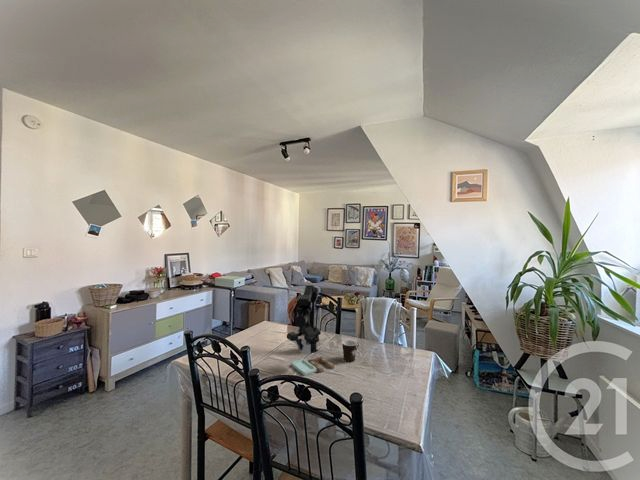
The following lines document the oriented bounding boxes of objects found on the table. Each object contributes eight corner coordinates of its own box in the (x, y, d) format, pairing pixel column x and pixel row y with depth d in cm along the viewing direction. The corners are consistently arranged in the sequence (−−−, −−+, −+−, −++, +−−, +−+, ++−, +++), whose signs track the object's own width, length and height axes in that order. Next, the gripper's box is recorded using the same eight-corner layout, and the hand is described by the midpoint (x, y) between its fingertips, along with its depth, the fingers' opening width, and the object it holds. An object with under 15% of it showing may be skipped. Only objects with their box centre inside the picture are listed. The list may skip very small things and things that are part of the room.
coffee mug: (345, 363, 159) (345, 346, 159) (340, 357, 168) (340, 340, 168) (363, 361, 163) (363, 344, 162) (357, 355, 171) (358, 339, 171)
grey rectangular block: (298, 349, 156) (298, 340, 156) (304, 348, 158) (304, 339, 157) (303, 354, 149) (303, 345, 148) (310, 353, 150) (310, 344, 150)
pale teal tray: (291, 365, 157) (291, 362, 157) (303, 362, 161) (303, 358, 161) (304, 375, 145) (304, 372, 145) (317, 371, 150) (317, 368, 150)
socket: (307, 363, 159) (307, 360, 159) (321, 359, 164) (321, 356, 164) (320, 372, 149) (320, 369, 149) (334, 368, 154) (334, 364, 154)
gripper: (296, 328, 141) (296, 358, 141) (326, 321, 152) (326, 350, 152) (286, 322, 150) (286, 351, 151) (315, 316, 161) (315, 343, 161)
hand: (304, 349), depth 153 cm, fingers closed on grey rectangular block, 4 cm apart
